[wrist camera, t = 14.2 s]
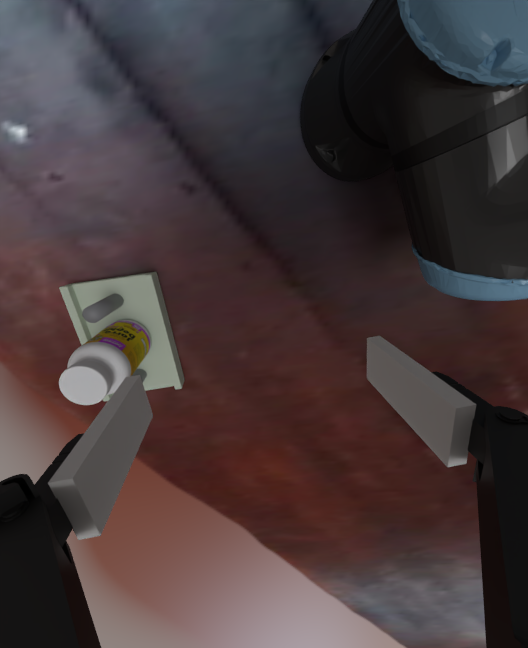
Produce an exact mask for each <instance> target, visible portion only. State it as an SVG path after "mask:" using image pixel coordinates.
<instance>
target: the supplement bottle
mask: <svg viewBox="0 0 528 648" xmlns="http://www.w3.org/2000/svg"><path fill="white" fill-rule="evenodd" d="M150 348H151V338H150V335H149V333H148V331H147V330H146V329H145V328H144V327H143V326H142V325H141V324H139V323H137V322H135V321H132V320H119V321H116V322H114V323H112V324H110V325H109V326H107V327H106V328H105V329H103V330H102V331H101V332H99V333H98V334H97V335H95V336H94V337H93V338H91V339H90V340H89V341H87V342H86V343H85V344H83V345H82V346H80V347H79V348H78V349H77V350H75V351H74V353H73V354H72V355H71V357H70V359H69V361H68V369H66V370H65V371H64V372H63V373H62V375H61V377H60V379H59V387H60V390H61V392H62V393H63V395H64V396H65V397H66V398H67V399H69V400H70V401H72V402H74V403H77V404H81V405H92V404H95V403H98V402H100V401H101V400H102V399H103V398H104V397H105V396H106V395H109V394H112V393H115V391H116V390H117V389H118V387H119V386H120V385H121V383H122V382H123V380H124V379H125V378H126V377H130V376H132V375H133V373H134V372H135V370H136V369H137V368H138V366H139V365H140V364H141V362H142V361H143V359H144V358H145V357H146V355H147V354H148V352H149V350H150Z"/></svg>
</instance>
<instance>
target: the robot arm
mask: <svg viewBox="0 0 528 648" xmlns="http://www.w3.org/2000/svg"><path fill="white" fill-rule="evenodd" d="M300 120H301V130H302V135H303V139H304V143H305V145H306V148H307V150H308V152H309V154H310V156H311V157H312V159H313V160H314V162H315V163H316V164H317V165H318V166H319V167H320V168H321V169H322V170H323V171H324V172H325V173H327V174H328V175H330V176H332V177H334V178H337V179H340V180H344V181H361V180H365V179H368V178H371V177H373V176H376V175H378V174H380V173H382V172H384V171H385V170H387V169H388V168H390V167H391V166H392V165H394V168H395V174H396V178H397V182H398V186H399V190H400V194H401V197H402V201H403V206H404V210H405V214H406V218H407V222H408V227H409V231H410V235H411V239H412V250H413V253H414V254H415V256H416V257H417V259H418V262H419V265H420V268H421V272H422V275H423V277H424V279H425V280H426V281H427V282H428V284H429V285H431V286H433V287H435V288H436V289H438V291H440V292H442V293H445V294H448V295H451V296H454V297H459V298H464V299H470V300H481V301H507V300H519V299H526V298H528V0H373V2H372V3H371V5H370V7H369V8H368V10H367V12H366V14H365V15H364V17H363V19H362V20H361V22H360V24H359V25H358V27H357V28H356V29H354V30H353V31H351V32H350V33H348V34H346V35H345V36H343V37H342V38H340V39H339V40H337V41H336V42H335V43H334V44H333V45H332V46H330V47H329V48H328V50H327V51H326V52H325V53H324V54H323V56H322V57H321V58H320V60H319V61H318V63H317V64H316V66H315V68H314V70H313V72H312V74H311V76H310V78H309V80H308V82H307V85H306V87H305V90H304V94H303V98H302V103H301V114H300ZM367 379H368V380H369V381H370V383H371V384H372V385H373V386H374V387H375V388H376V389H377V390H378V391H379V392H380V394H381V395H382V396H383V397H384V398H385V399H386V400H387V401H388V402H389V403H390V405H391V406H392V407H393V408H394V409H395V410H396V411H397V412H398V413H399V414H400V415H401V417H402V418H403V419H404V420H405V421H406V422H407V423H408V424H409V425H410V426H411V428H412V429H413V430H414V431H415V432H416V433H417V434H418V435H419V436H420V437H421V439H422V440H423V441H424V442H425V443H426V444H427V445H428V446H429V447H430V448H431V450H432V451H433V452H434V453H435V454H436V455H437V456H438V457H439V458H440V459H441V461H442V462H443V463H444V464H445V465H446V466H447V467H451V466H456V465H461V464H466V462H467V456H468V451H469V452H470V453H471V454H472V455H473V456H474V457H475V458H476V459H477V462H476V467H475V472H474V478H473V481H474V482H477V497H478V514H479V530H480V547H481V564H482V580H483V597H484V614H485V630H486V647H487V648H528V416H527V415H526V414H524V413H522V412H520V411H518V410H515V409H512V408H508V407H501V406H496V407H493V406H492V405H491V404H489V403H488V402H486V401H485V400H483V399H482V398H480V397H479V396H477V395H476V394H474V393H473V392H471V391H470V390H468V389H466V388H465V387H464V386H462V385H461V384H458V382H456V381H455V380H453V379H452V378H450V377H449V376H446V375H444V374H441V373H439V372H430V371H428V370H427V369H426V368H424V367H423V366H421V365H420V364H419V363H417V362H416V361H414V360H413V359H412V358H410V357H409V356H407V355H406V354H404V353H403V352H402V351H400V350H399V349H397V348H396V347H395V346H393V345H392V344H390V343H389V342H388V341H386V340H385V339H383V338H382V337H381V336H376V337H370V338H367ZM152 417H153V414H152V411H151V407H150V404H149V401H148V398H147V395H146V392H145V389H144V386H143V383H142V380H141V377H140V375H136V376H130V377H126V378H125V379H124V380H123V382H122V383H121V385H120V386H119V387H118V389H117V390H116V391H115V393H114V394H113V395H112V397H111V398H110V399H109V401H108V402H107V403H106V405H105V406H104V408H103V409H102V410H101V412H100V413H99V414H98V416H97V417H96V418H95V420H94V421H93V422H92V424H91V425H90V427H89V428H88V429H87V431H86V432H85V433H84V434H78V435H77V436H76V437H75V438H74V439H72V440H71V441H70V442H68V443H67V444H66V446H65V447H64V448H63V449H62V451H61V452H60V453H59V456H57V457H56V458H55V460H54V461H53V462H52V464H51V465H50V466H49V467H48V468H47V470H46V471H45V472H44V474H43V475H42V476H41V477H40V479H39V480H38V481H37V482H36V484H35V485H34V484H33V482H32V480H31V479H30V477H29V476H28V475H27V474H19V475H15V476H12V477H10V478H7V479H5V480H3V481H1V482H0V648H101V646H100V642H99V639H98V636H97V633H96V630H95V627H94V624H93V621H92V617H91V614H90V611H89V608H88V604H87V601H86V598H85V595H84V592H83V589H82V586H81V582H80V579H79V576H78V573H77V570H76V567H75V563H74V561H73V557H72V554H71V551H70V548H69V545H68V544H67V542H66V540H67V538H68V536H69V534H70V532H71V531H72V529H73V531H74V532H75V534H76V536H77V538H78V540H80V539H86V538H91V537H96V536H101V533H102V531H103V529H104V526H105V524H106V522H107V520H108V517H109V515H110V513H111V511H112V508H113V506H114V504H115V501H116V499H117V497H118V494H119V492H120V490H121V488H122V485H123V483H124V481H125V478H126V476H127V474H128V472H129V469H130V467H131V465H132V462H133V460H134V458H135V456H136V453H137V451H138V449H139V446H140V444H141V442H142V440H143V437H144V435H145V433H146V430H147V428H148V426H149V424H150V421H151V419H152Z"/></svg>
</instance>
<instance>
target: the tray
mask: <svg viewBox="0 0 528 648" xmlns="http://www.w3.org/2000/svg"><path fill="white" fill-rule="evenodd" d="M59 289H60V291H61V294H62V296H63V299H64V301H65V304H66V307H67V309H68V312H69V314H70V317H71V319H72V322H73V324H74V327H75V330H76V332H77V335H78V337H79V340H80V342H81V345H83V344H85V343H86V342H87V341H89V340H90V339H91V338H93V337H94V336H95V335H97V334H98V333H99V332H101V331H102V330H103V329H105V328H106V327H107V326H109V325H110V324H112V323H114V322H116V321H119V320H132V321H135V322H137V323H139V324H141V325H142V326H143V327H144V328H145V329H146V330H147V331H148V333H149V335H150V338H151V348H150V350H149V352H148V354H147V355H146V357H145V358H144V359H143V361H142V362H141V364H140V365H139V366H138V368H137V369H136V370H135V372H134V373H133V375H132V376H136V375H140V377H141V380H142V383H143V386H144V389H145V391H146V390H152V389H158V388H164V387H170V386H174V387H175V390H176V389H182V386H183V383H184V380H185V379H184V375H183V371H182V368H181V364H180V360H179V356H178V352H177V348H176V344H175V341H174V337H173V333H172V329H171V325H170V321H169V318H168V314H167V310H166V306H165V302H164V298H163V295H162V291H161V287H160V283H159V279H158V275H157V272H151V273H144V274H137V275H129V276H122V277H115V278H108V279H101V280H94V281H87V282H79V283H72V284H68V285H65V286H62V287H59ZM113 394H114V393H112V394H109V395H106V396H105V397H104V398H103V401H109V399H110V398H111V397H112V395H113Z"/></svg>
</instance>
